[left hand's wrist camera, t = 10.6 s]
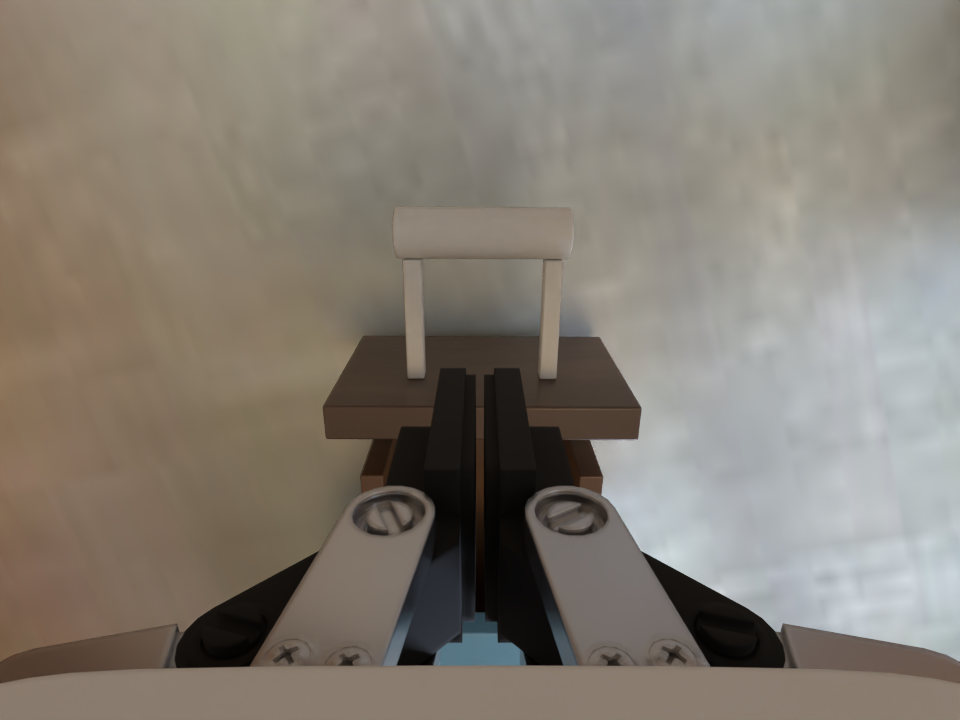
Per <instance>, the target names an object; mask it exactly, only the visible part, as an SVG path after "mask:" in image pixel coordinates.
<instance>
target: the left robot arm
mask: <svg viewBox="0 0 960 720" xmlns="http://www.w3.org/2000/svg"><path fill="white" fill-rule="evenodd" d="M475 569H476V375H466V368H440V373H439V379H438V385H437V391H436V397H435V403H434V409H433V415H432V421H431V426H402V427H401V429H400V432H399V436H398V439H397V443H396V447H395V451H394V455H393V458H392V462H391V466H390V470H389V473H388V477H387V481H386V485H385V487H379V488H374V489H372V490H369V491H366V492H364V493H362V494H360V495H359V496H357V497H356V498H354V499H352V500H351V502H350V503H349V504H348V505H347V506H346V507H345V509H344V510H343V512H342V514H341V515H340V517H339V519H338V520H337V522H336V524H335V525H334V527H333V529H332V530H331V532H330V534H329V535H328V537H327V539H326V540H325V542H324V544H323V545H322V547H321V549H320V550H319V551H318V552H316V553H314V554H313V555H311V556H309V557H307V558H305V559H303V560H302V561H300V562H298V563H296V564H294V565H292V566H290V567H289V568H287V569H285V570H283V571H281V572H279V573H277V574H276V575H274V576H272V577H270V578H268V579H266V580H264V581H263V582H261V583H259V584H257V585H255V586H253V587H252V588H250V589H248V590H246V591H244V592H242V593H240V594H239V595H237V596H235V597H233V598H231V599H229V600H227V601H226V602H224V603H222V604H220V605H218V606H216V607H214V608H213V609H211V610H210V611H208V612H207V613H205V614H204V615H202V616H201V617H199V618H198V619H197V620H196V621H195V622H194V623H193V624H192V625H191V626H190V627H189V628H188V629H187V630H186V631H185V632H179V629H178V625H177V624H171V625H166V626H160V627H154V628H149V629H143V630H137V631H132V632H126V633H120V634H115V635H109V636H103V637H98V638H92V639H86V640H81V641H75V642H69V643H64V644H58V645H52V646H47V647H41V648H35V649H32V650H29V651H25V652H22V653H18V654H15V655H13V656H11V657H9V658H7V659H5V660H3V661H1V662H0V720H960V662H959V661H957V660H955V659H953V658H951V657H949V656H947V655H945V654H942V653H938V652H935V651H931V650H928V649H925V648H919V647H913V646H908V645H902V644H896V643H891V642H885V641H879V640H874V639H868V638H862V637H857V636H851V635H845V634H840V633H834V632H828V631H823V630H817V629H811V628H806V627H800V626H794V625H789V624H783V625H782V629H781V632H775V631H774V630H773V629H772V628H771V627H770V626H769V625H768V624H767V623H766V622H765V621H764V620H763V619H762V618H761V617H759V616H758V615H756V614H755V613H753V612H752V611H750V610H749V609H747V608H746V607H744V606H742V605H740V604H738V603H736V602H734V601H733V600H731V599H729V598H727V597H725V596H723V595H721V594H720V593H718V592H716V591H714V590H712V589H710V588H708V587H707V586H705V585H703V584H701V583H699V582H697V581H696V580H694V579H692V578H690V577H688V576H686V575H684V574H683V573H681V572H679V571H677V570H675V569H673V568H671V567H670V566H668V565H666V564H664V563H662V562H660V561H658V560H657V559H655V558H653V557H651V556H649V555H647V554H646V553H644V552H642V551H641V550H640V549H639V547H638V545H637V544H636V542H635V540H634V539H633V537H632V535H631V534H630V532H629V530H628V529H627V527H626V525H625V524H624V522H623V520H622V519H621V517H620V515H619V514H618V512H617V510H616V509H615V507H614V506H613V505H612V504H611V503H610V502H609V500H608V499H606V498H604V497H603V496H601V495H600V494H598V493H596V492H593V491H591V490H588V489H586V488H581V487H575V485H574V481H573V477H572V473H571V470H570V466H569V462H568V458H567V455H566V451H565V447H564V443H563V439H562V436H561V432H560V429H559V427H558V426H529V421H528V415H527V409H526V403H525V397H524V391H523V385H522V379H521V373H520V368H494V375H484V570H485V622H497V636H498V643H513V644H514V645H515V646H517V647H518V648H519V649H520V666H518V665H442V666H440V649H441V648H442V647H443V646H445V645H446V644H447V643H462V636H463V622H475Z"/></svg>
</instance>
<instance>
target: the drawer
mask: <svg viewBox="0 0 960 720" xmlns="http://www.w3.org/2000/svg"><path fill="white" fill-rule="evenodd" d="M573 239H574V218H573V212H572V209H571V208H534V207H396V208H395V209H394V213H393V246H394V252H395V255H396V257H397V258H404V259H403V261H402V263H403V286H404V309H405V332H406V336H363V337H362V339H361V341H360V342H359V344H358V346H357V348H356V349H355V351H354V353H353V355H352V356H351V358H350V360H349V362H348V363H347V365H346V367H345V369H344V370H343V372H342V374H341V376H340V377H339V379H338V381H337V383H336V384H335V386H334V388H333V390H332V391H331V393H330V395H329V397H328V398H327V400H326V402H325V404H324V405H323V415H324V424H325V434H326V438H327V439H373V441H372V444H371V447H370V450H369V452H368V455H367V458H366V461H365V464H364V467H363V470H362V473H361V476H360V479H361V491H362V493H364V492H366V491H369V490H372V489H374V488H379V487H385V485H386V481H387V477H388V473H389V470H390V466H391V462H392V458H393V455H394V451H395V447H396V443H397V439H398V436H399V432H400V429H401V427H402V426H431V421H432V415H433V409H434V403H435V397H436V391H437V385H438V379H439V373H440V368H466V375H476V569H475V612H485V570H484V375H494V368H520V373H521V379H522V385H523V391H524V397H525V403H526V409H527V415H528V421H529V426H558V427H559V429H560V432H561V436H562V439H563V443H564V447H565V451H566V455H567V458H568V462H569V466H570V470H571V473H572V477H573V481H574V485H575V487H581V488H586V489H588V490H591V491H593V492H596V493H598V494H600V495H601V493H602V483H603V475H602V472H601V470H600V467H599V464H598V461H597V459H596V456H595V453H594V450H593V448H592V445H591V442H590V440H637V439H638V434H639V426H640V417H641V406H640V405H639V403H638V401H637V400H636V398H635V396H634V395H633V393H632V391H631V389H630V388H629V386H628V384H627V383H626V381H625V379H624V378H623V376H622V374H621V373H620V371H619V369H618V368H617V366H616V364H615V363H614V361H613V359H612V358H611V356H610V354H609V352H608V351H607V349H606V347H605V346H604V344H603V342H602V341H601V339H600V338H599V337H559V325H560V308H561V291H562V274H563V261H562V259H569V258H570V256H571V253H572V248H573ZM422 258H427V259H543V275H542V297H541V318H540V337H483V336H425V331H424V298H423V266H422Z"/></svg>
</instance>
